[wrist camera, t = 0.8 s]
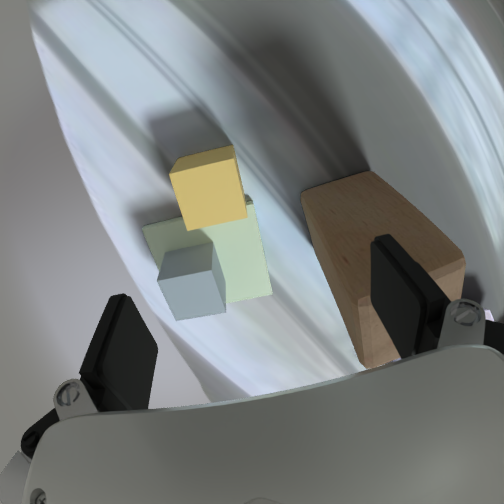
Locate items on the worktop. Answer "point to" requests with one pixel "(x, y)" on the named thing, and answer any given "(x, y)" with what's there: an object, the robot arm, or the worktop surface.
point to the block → (359, 257)
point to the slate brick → (193, 282)
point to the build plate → (220, 251)
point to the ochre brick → (209, 188)
